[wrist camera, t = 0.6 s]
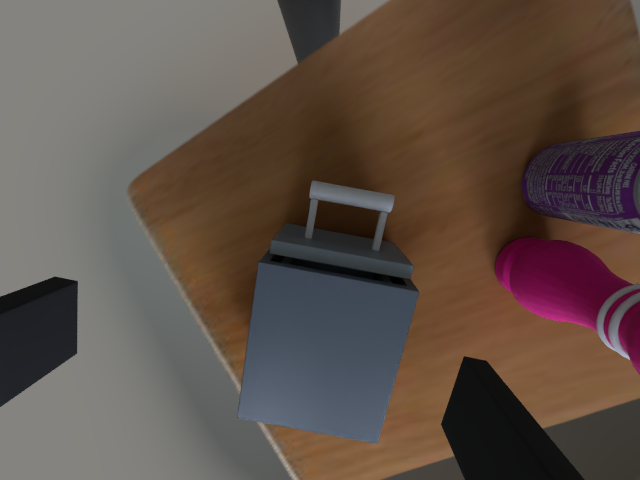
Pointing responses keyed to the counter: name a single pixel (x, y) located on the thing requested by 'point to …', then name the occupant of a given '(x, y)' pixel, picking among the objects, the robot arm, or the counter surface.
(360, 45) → the counter surface
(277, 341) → the cabinet
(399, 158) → the counter surface
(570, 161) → the beverage can
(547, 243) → the pepper mill
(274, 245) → the drawer
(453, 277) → the counter surface
